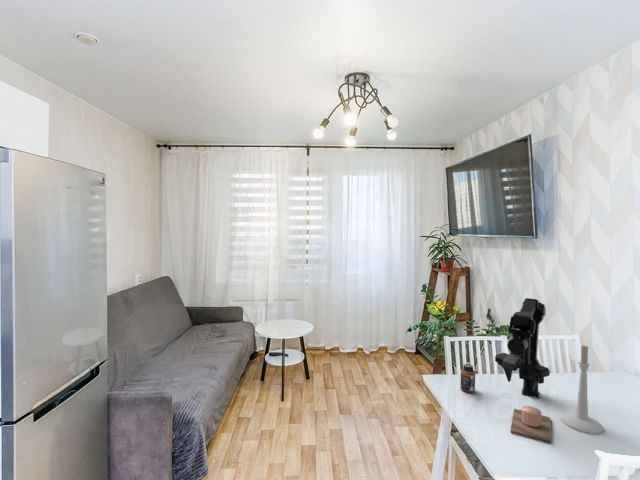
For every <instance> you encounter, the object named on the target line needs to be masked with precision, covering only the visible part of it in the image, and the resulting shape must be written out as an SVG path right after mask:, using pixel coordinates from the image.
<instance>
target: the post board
mask: <svg viewBox="0 0 640 480" xmlns="http://www.w3.org/2000/svg"><path fill="white" fill-rule="evenodd" d="M521 414H522V409H518V408H513V414H512V419H511V425H510V434H514V435H518V436H522V437H524V438H529V439H531V438H532V440H536V441H538V440H539V442H543V443H546V444H549V443H551V442H552V440H551V439H552V438H551V437H552V436H551V435H552V434H551V417H550V416H547V415H543V414H541V426H539V427H533V426H529V425H527V424H525V423H523V422H522V421H521ZM551 444H552V443H551Z"/></svg>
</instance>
